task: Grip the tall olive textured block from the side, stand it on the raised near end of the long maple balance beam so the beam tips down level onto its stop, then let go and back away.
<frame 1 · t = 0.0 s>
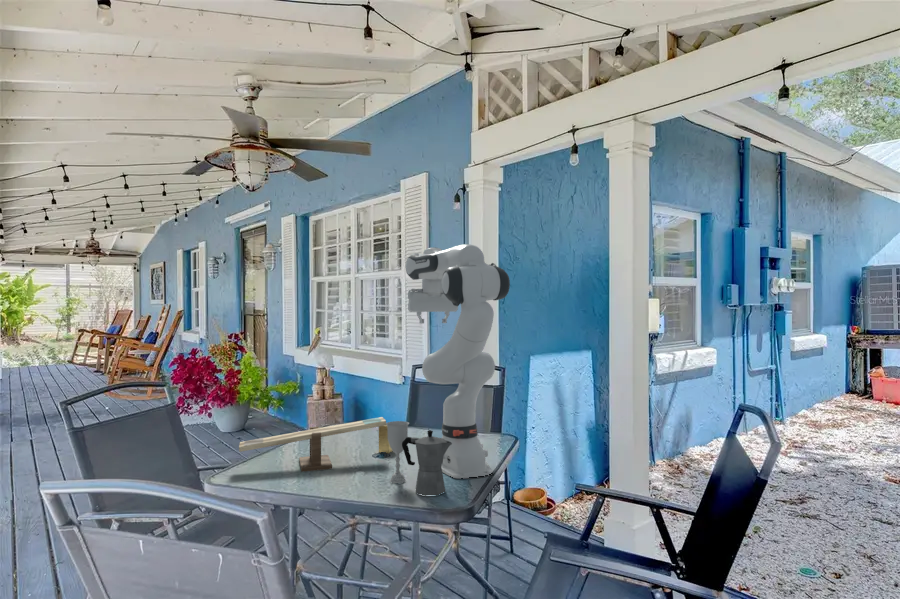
hand: (433, 323, 215), 48 cm above the table, tool pointing down, fingers open, 8 cm apart
coffeepot: (426, 492, 159), on the table
chalice: (397, 481, 168), on the table
balance beam: (315, 433, 187), point 11 cm above the table, hinge at -6.0°
beam stand: (315, 464, 187), on the table
tall olive textured block: (386, 451, 204), on the table
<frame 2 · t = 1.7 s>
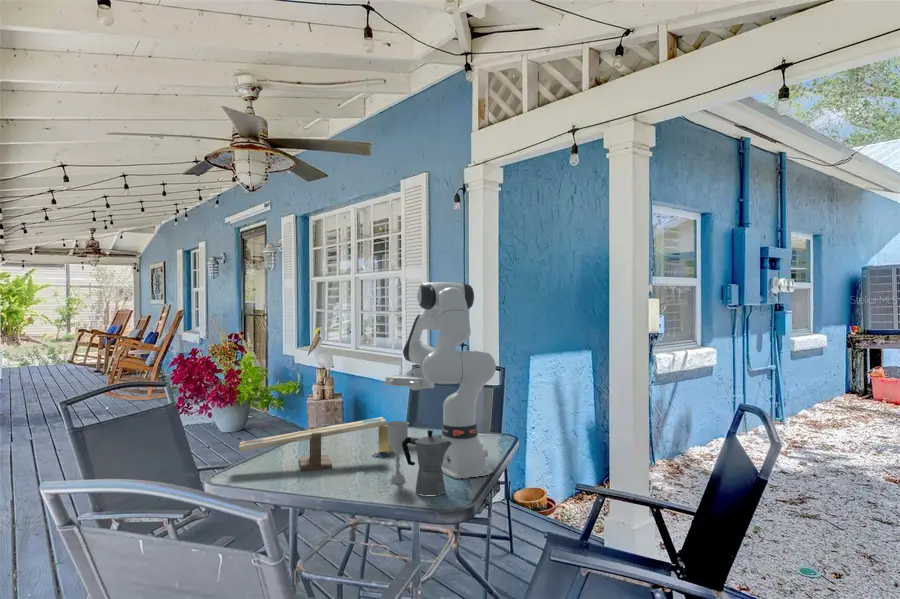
hand: (401, 383, 215), 24 cm above the table, tool horizontal, fingers open, 8 cm apart
nothing on the table moved.
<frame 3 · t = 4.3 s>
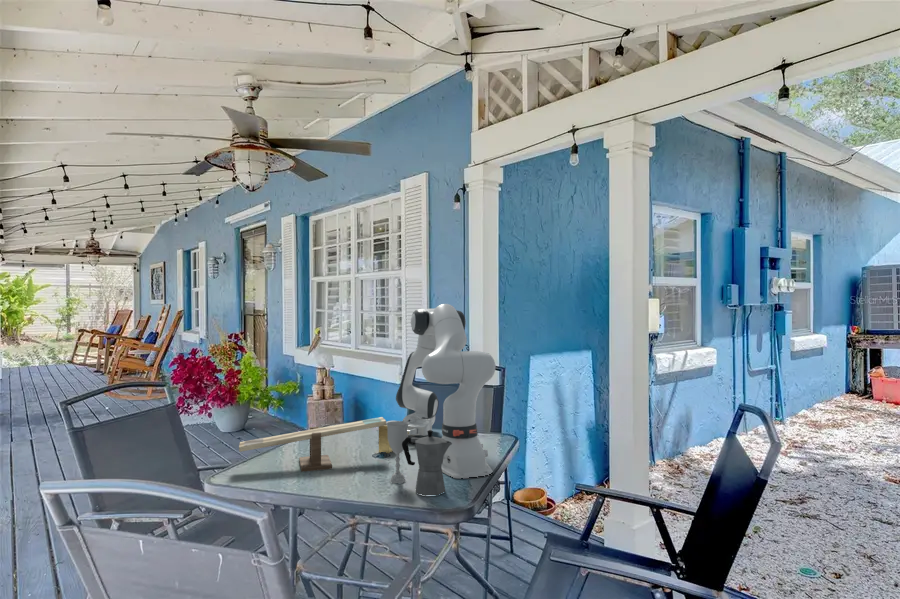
hand: (397, 432, 212), 5 cm above the table, tool horizontal, fingers open, 8 cm apart
nothing on the table moved.
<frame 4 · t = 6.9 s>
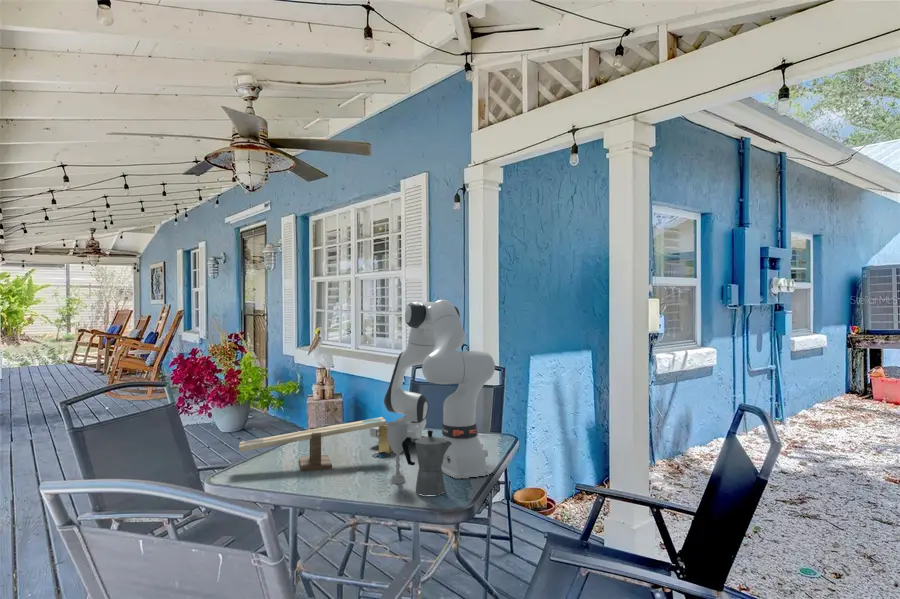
hand: (385, 437, 203), 6 cm above the table, tool horizontal, fingers closed on tall olive textured block, 4 cm apart
tall olive textured block: (386, 451, 204), on the table, touching gripper
everything else where it was.
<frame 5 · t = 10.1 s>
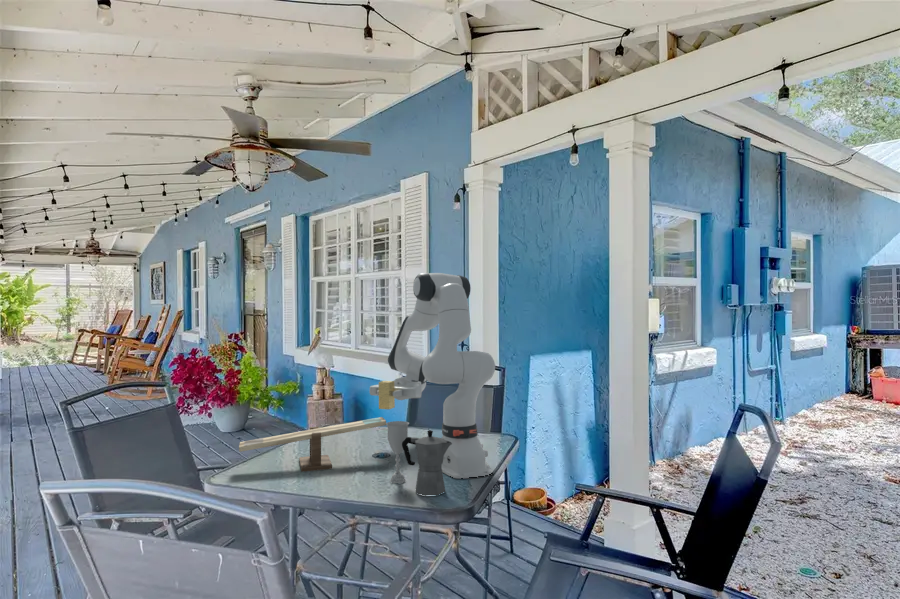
hand: (385, 393, 203), 22 cm above the table, tool horizontal, fingers closed on tall olive textured block, 4 cm apart
tall olive textured block: (386, 408, 204), point 16 cm above the table, touching gripper
everything else where it was.
when the fingers open (20 cm above the table, at t = 13.4 s): tall olive textured block drops 3 cm, resting on balance beam.
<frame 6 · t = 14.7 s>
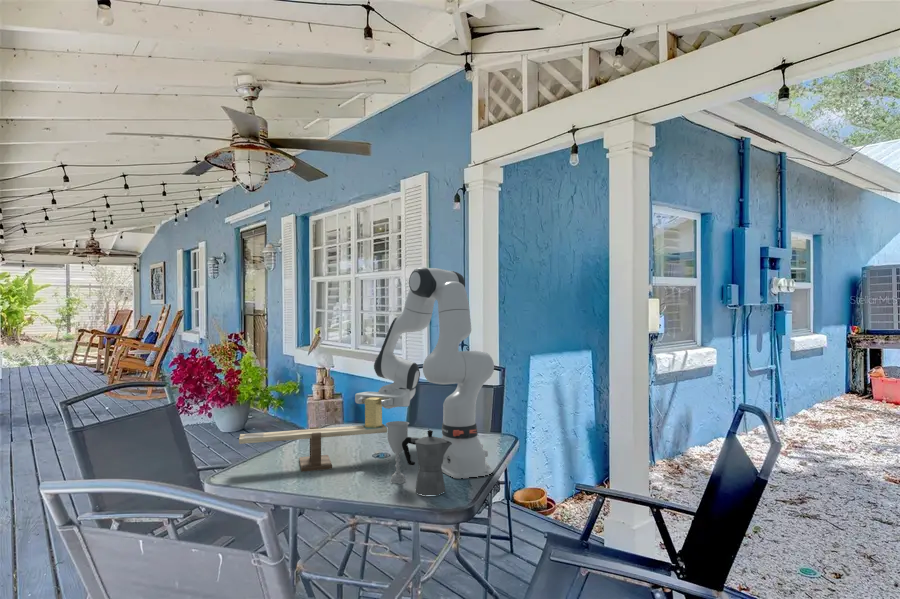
hand: (371, 402, 192), 20 cm above the table, tool horizontal, fingers open, 8 cm apart
balance beam: (315, 433, 187), point 11 cm above the table, hinge at 0.1°, touching tall olive textured block
tall olive textured block: (373, 426, 193), point 12 cm above the table, touching balance beam
everything else where it was.
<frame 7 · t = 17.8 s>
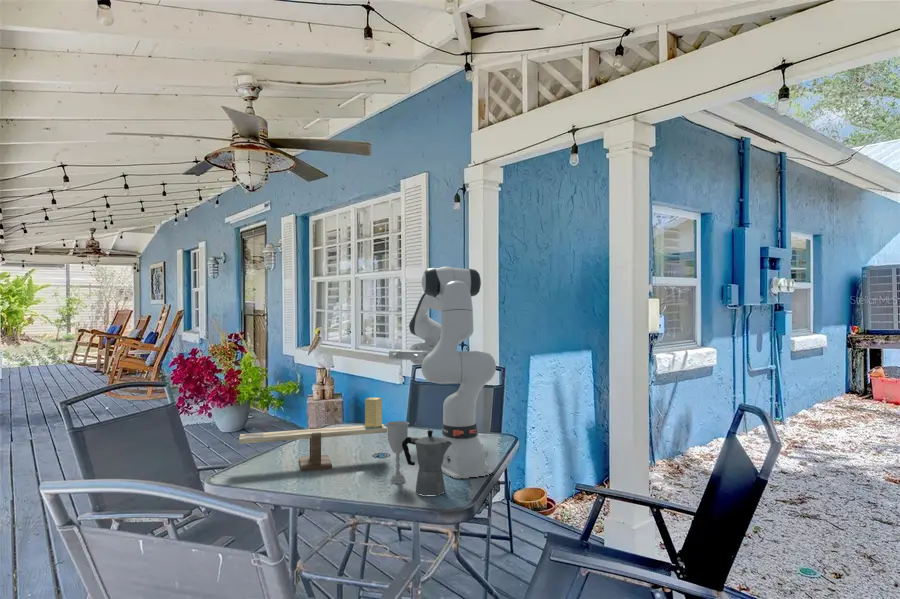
hand: (404, 356, 212), 35 cm above the table, tool horizontal, fingers open, 8 cm apart
nothing on the table moved.
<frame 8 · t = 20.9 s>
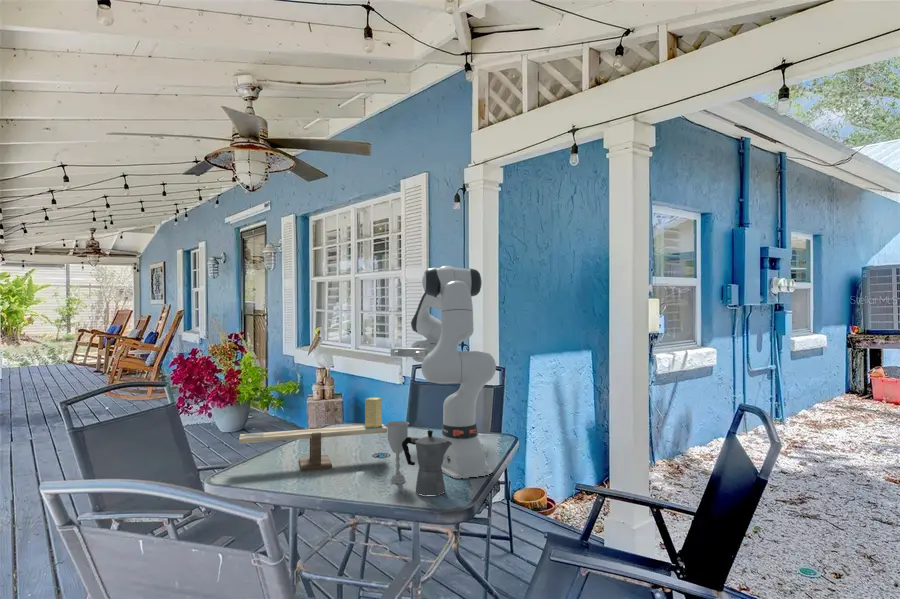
hand: (406, 353, 213), 36 cm above the table, tool horizontal, fingers open, 8 cm apart
nothing on the table moved.
at the end: balance beam at +0° (first picture: -6°); tall olive textured block inside the target area (0.4 cm from its centre), point 11.7 cm above the table; the gripper is holding nothing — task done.
